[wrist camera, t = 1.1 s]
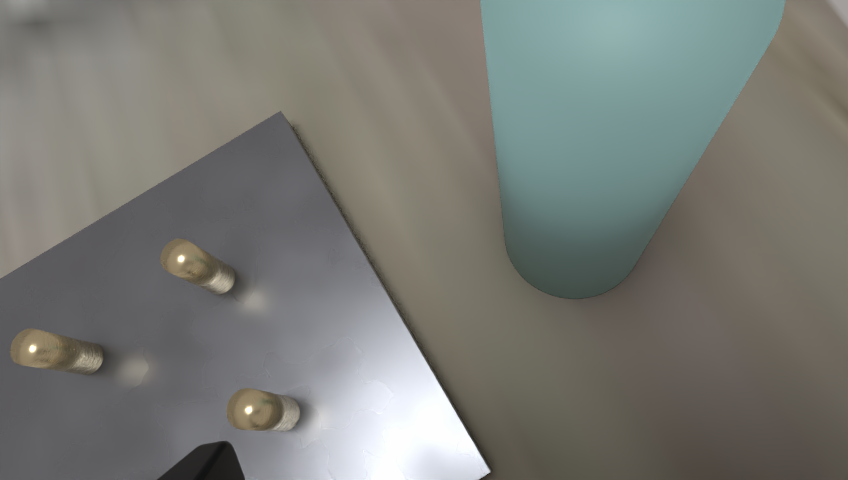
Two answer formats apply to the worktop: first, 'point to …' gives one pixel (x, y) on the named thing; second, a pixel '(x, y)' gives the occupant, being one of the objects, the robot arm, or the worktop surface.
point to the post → (607, 121)
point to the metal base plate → (220, 338)
